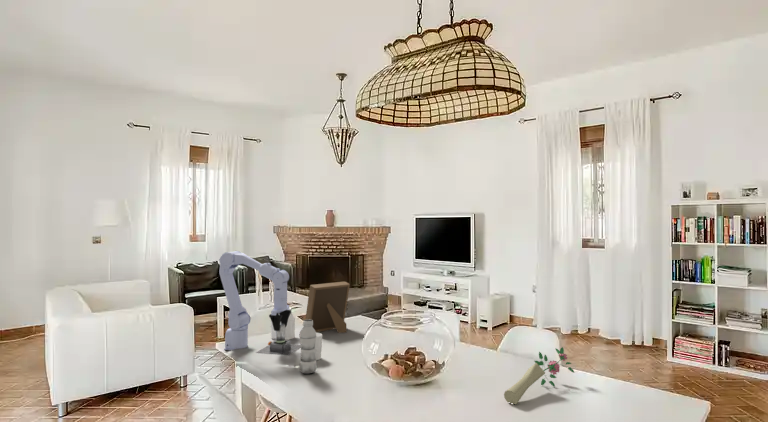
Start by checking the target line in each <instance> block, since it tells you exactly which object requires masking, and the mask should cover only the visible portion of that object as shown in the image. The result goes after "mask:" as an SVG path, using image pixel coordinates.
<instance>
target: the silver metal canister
mask: <svg viewBox="0 0 768 422" xmlns="http://www.w3.org/2000/svg"><path fill="white" fill-rule="evenodd" d="M275 340H276V343H277V344H283V343H285V324H283V323H280V329H279V331H276V339H275Z"/></svg>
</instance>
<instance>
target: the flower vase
mask: <svg viewBox="0 0 768 422" xmlns="http://www.w3.org/2000/svg"><path fill="white" fill-rule="evenodd" d="M555 351H556V353H557V354H558V357H559V360H558V361H557V360H550V361H549V362H548V364H547V368H546V367H545V362H547V361H548V356H547V355H546V354H544V356H543V353H542V352H540V351H538V357H539V359H540V360H539V361H538V360H534V361H533V362H534V364H533V365H531V366H530V367H529V368H527V370H526V371H525V373H524V374H523V376H522V377H521V379H519V380H517V382H516V383H514V384H513V385H512V386H511V387H509V388H508V389H507V390H505V391H504V394H503V397H504V400H505V401H506V402H507V403H508V402H510V403H513V404H515V405H517V404H518V403H519V401H520V400H521V399H522V397H523V396H524V394H525V393H526V391H528V389H529V388H530V387H531V386H532V385H533V384H535V382H537V381H538V380H539V379H541V377H543V376H545V375H546V372H545V371H547V370H548V372H549V373H550V374H549V378H552V379H556V378H557V376H556V375H558V373H560V367H561V366H563V367H566V365H572V362H570V361H567V362H566V363H565V365H564V364H561V366H560V364H559V363H560V361H563V362H565V361H566V360H568V355H567V354H566V353H565V350H564V347H563V346H562V347H561V348H560V349H558V348H557V347H555ZM542 359H544V361H543V360H542ZM541 366H542V367H541ZM543 367H544V369H543ZM566 368H567V369H568V371H570V372H572V373H575V371H574V369H573V368H572V367H566ZM546 379H547V381H548V383H549V384H550V385H551V386H553V387H554V386H555V387H556V385H555V383H554V381H553V380H549V379H548V378H546ZM547 381H546V380H545V378H542V379H541V382H540V386H541V385H542V386H544V385H545V384H546V383H547Z"/></svg>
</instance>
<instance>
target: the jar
mask: <svg viewBox="0 0 768 422" xmlns="http://www.w3.org/2000/svg"><path fill="white" fill-rule="evenodd" d="M289 308H290V309H289V310H291V311H292V307H290V306H289ZM278 314H279V313H278ZM279 315H280V314H279ZM295 322H296V318H295V316H294V314H293V313H292V312H291V313H290V316H289V318H288V322H287V326H286V327H285V340H288V341H289V340H291V339H296V335H295V332H296V331H295V330H296V329H295V328H296V327H295V326H296V325H295ZM280 323H281V322H280ZM270 339H273V340H276V331H274V328H273V324H272V321H271V320H270Z"/></svg>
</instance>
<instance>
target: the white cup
mask: <svg viewBox="0 0 768 422" xmlns="http://www.w3.org/2000/svg"><path fill="white" fill-rule="evenodd" d="M322 348H323V334H322V333H320V332H316V342H315V357H316V361H319V360H321V359H322V350H323V349H322Z"/></svg>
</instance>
